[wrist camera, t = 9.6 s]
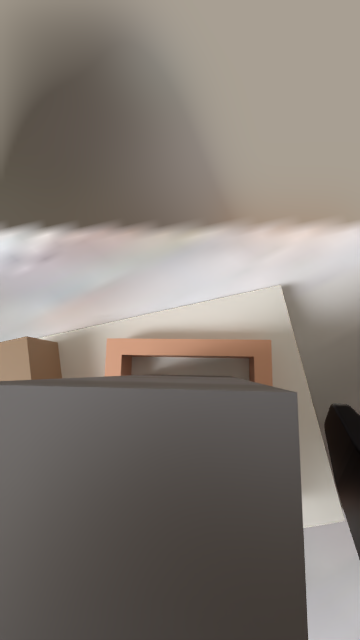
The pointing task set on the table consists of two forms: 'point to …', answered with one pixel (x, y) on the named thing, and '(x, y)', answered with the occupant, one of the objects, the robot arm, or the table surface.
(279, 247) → the table surface
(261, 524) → the peg
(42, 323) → the table surface
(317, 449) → the plate
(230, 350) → the collar
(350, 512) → the robot arm
